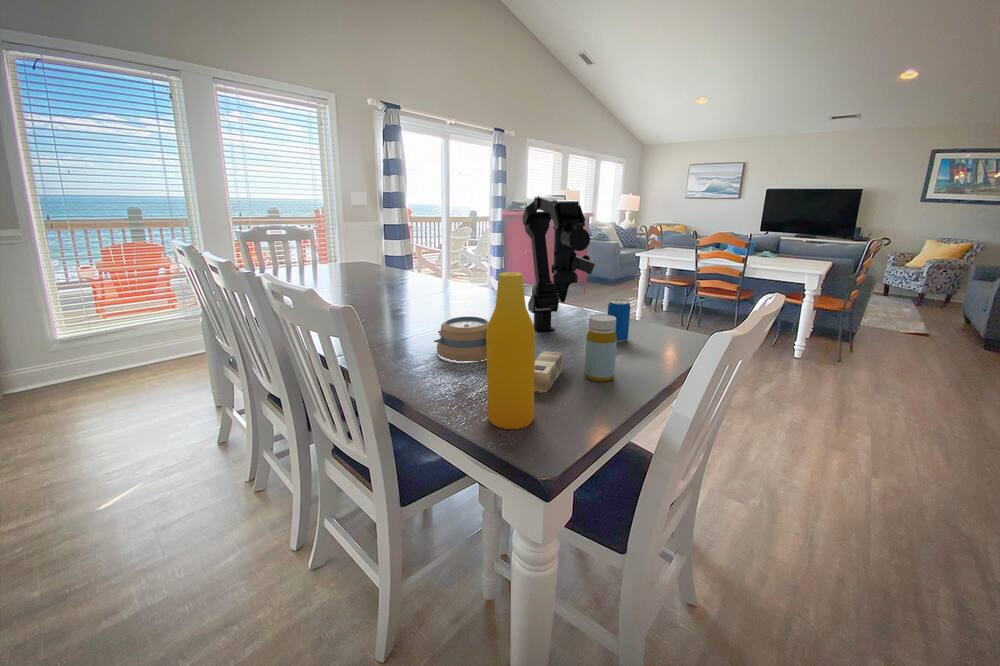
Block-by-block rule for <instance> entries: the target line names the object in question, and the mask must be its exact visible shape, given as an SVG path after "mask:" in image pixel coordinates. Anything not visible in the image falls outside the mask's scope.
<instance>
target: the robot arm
mask: <svg viewBox="0 0 1000 666" xmlns="http://www.w3.org/2000/svg"><path fill="white" fill-rule="evenodd" d="M551 221H552V222H553V224H554V225H553V227H552V228H553V230H554V234H553V236H554V239H553V241H554V242H553V244H554V246H553V247H554V248H553V264H552V265H551V273H552V280H551V275H550V265H549V256H548V248H547V240H546V235H547V234H548V230H549V229H550V223H551ZM585 221H586V218H585V215H584V212H583V210H582V206H581V204H580V203H579V201H578V200H577V199H558V198H555V197H552V196H550V195H537V196H534V199H533V201H532V202H531V203H530V204H529V205H527V206H526V207H525V209H524V211H523V214H522V225H523V226H524V230H525V233H526V234H527V236H528V237H529V238H530V240H531V249H532V250H531V251H532V258H533V268H534V278H535V283H534V285H533V288H532V290H531V295H530V298H529V300H528V303H527V308H528V309H527V311H529V312H530V313H532V314H533V325H534V330H535V333H542V332H552V331H555V330H556V328H555V327H554V326H552V312H558V308H559V304H560V303H565V302H566V300H567V299H566V298H567V296H568V295H567V294H568V291H569V287H570V285H572V284H577V283H578V274H577V272H576V271H577V270H580V271H582V272H584V273H586V275H587V274H588V275H592V273H593V271H594V269H595V266H596V263H595V262H594V261H593V260H590V256H589V255H587V254H582V256H578V255H577V252H582V251H584V250H586V249H587V248H588V246H590V243H591V236H590V233H589V232H588V230H586V229H585V228H584V227H585V226H586V222H585Z"/></svg>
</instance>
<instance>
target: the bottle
mask: <svg viewBox="0 0 1000 666" xmlns="http://www.w3.org/2000/svg"><path fill="white" fill-rule="evenodd" d="M615 327H616V317H614V316H612V315H608V314H607V313H605V314H603V313H602V314H601V313H598V314H597V313H596V314H592V315H591V314H590V315H589V317H588V331H587V334H586V339H585V359H584V376H585V377H586V378H587V379H588V380H589V381H592V382H597V383H598V382H599V383H605V381H606V382H608V381H609V380H610V381H611V380H612V379H613V378H614V377H615V372H616V371H615V369H616V355H617V353H616V352H617V343H618V342H617V336H616V333H615V329H616V328H615Z"/></svg>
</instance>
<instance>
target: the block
mask: <svg viewBox="0 0 1000 666" xmlns="http://www.w3.org/2000/svg"><path fill="white" fill-rule="evenodd" d="M562 371H563V353H561V352H553V351H545V350H542V351H541V353H540V354H539V355H538V356H537V357H535V374H534V392H536V391H540V392H539V393H542V392H547V391H548V390H550V389H551V388H552V386H553V385H554V383H555V382H556V381H557V379H558V377H559V376H560V374H562ZM556 378H557V379H556ZM554 381H555V382H554ZM552 384H553V385H552ZM550 387H551V388H550ZM548 392H549V391H548ZM548 392H547V393H548Z"/></svg>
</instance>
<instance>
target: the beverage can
mask: <svg viewBox="0 0 1000 666" xmlns="http://www.w3.org/2000/svg"><path fill="white" fill-rule="evenodd" d="M607 315H612V316H614V317H616V327H615V328H616V329H615V333H616V336H617V343H623V341H624V342H625V341H627V340H628V339H629V327H630V319H631V318H630V316H631V304H630V301H629V300H626V299H611V300H610V299H609V303H608V305H607Z"/></svg>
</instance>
